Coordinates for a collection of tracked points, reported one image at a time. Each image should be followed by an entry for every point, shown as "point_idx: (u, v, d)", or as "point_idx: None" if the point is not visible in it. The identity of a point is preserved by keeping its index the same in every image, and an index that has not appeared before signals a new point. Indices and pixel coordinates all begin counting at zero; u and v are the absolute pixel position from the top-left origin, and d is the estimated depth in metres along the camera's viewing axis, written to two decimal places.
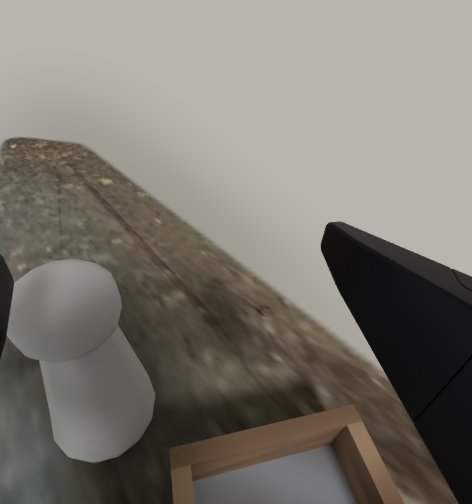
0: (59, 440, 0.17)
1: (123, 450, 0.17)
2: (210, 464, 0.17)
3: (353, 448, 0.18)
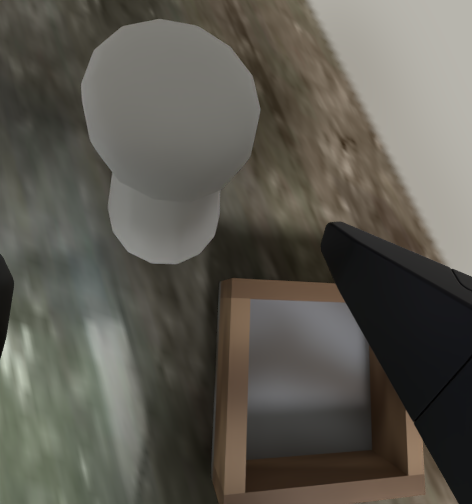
0: (121, 237, 0.16)
1: (182, 261, 0.17)
2: None
3: None
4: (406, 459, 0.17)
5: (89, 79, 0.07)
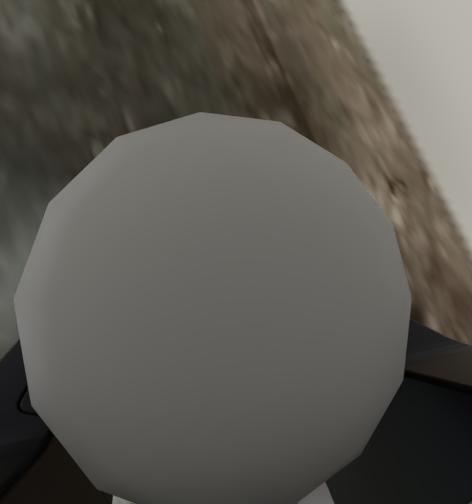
0: None
1: None
2: None
3: None
4: None
5: (31, 297, 0.03)
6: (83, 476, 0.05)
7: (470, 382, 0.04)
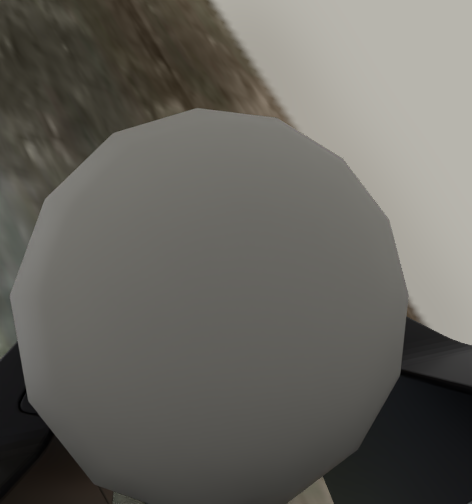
0: None
1: None
2: None
3: None
4: None
5: (27, 293, 0.03)
6: (83, 476, 0.05)
7: (470, 382, 0.04)
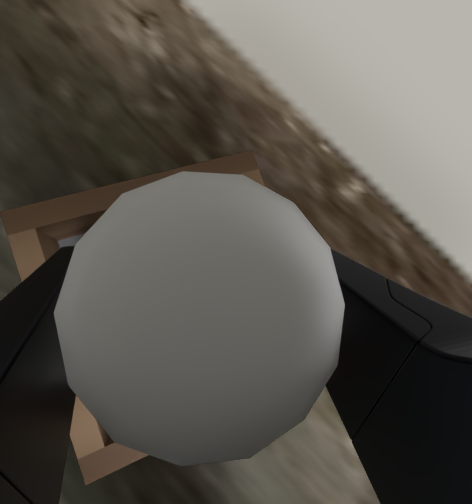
0: None
1: None
2: (67, 224, 0.14)
3: None
4: None
5: (67, 311, 0.04)
6: (6, 496, 0.04)
7: None
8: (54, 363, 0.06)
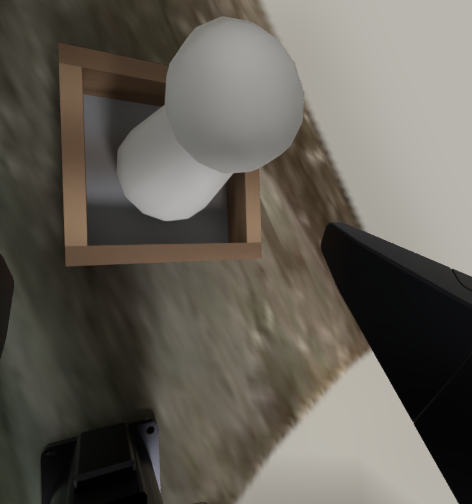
0: (124, 181, 0.17)
1: (171, 220, 0.18)
2: (103, 78, 0.17)
3: None
4: (246, 231, 0.20)
5: (188, 51, 0.08)
6: None
7: None
8: None
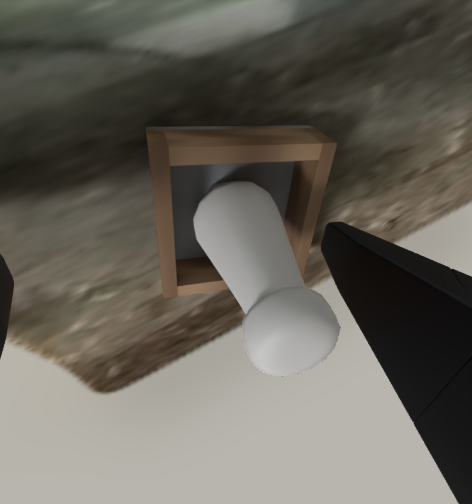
0: (228, 195, 0.19)
1: (194, 226, 0.21)
2: (309, 171, 0.21)
3: None
4: (187, 284, 0.23)
5: (321, 320, 0.13)
6: None
7: None
8: None
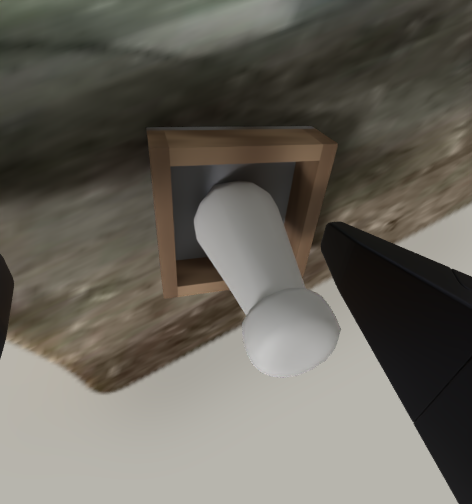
0: (229, 195, 0.19)
1: None
2: (310, 171, 0.21)
3: None
4: (187, 284, 0.23)
5: (321, 321, 0.13)
6: None
7: None
8: None
